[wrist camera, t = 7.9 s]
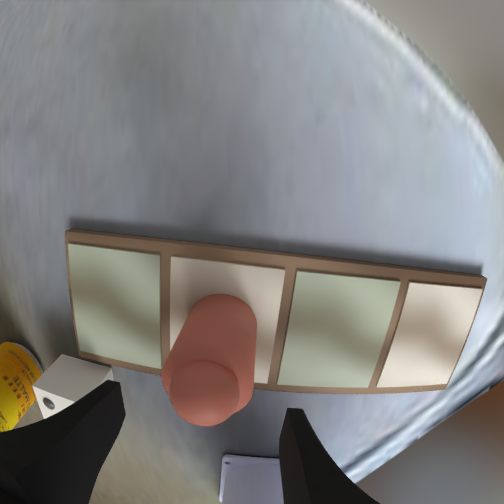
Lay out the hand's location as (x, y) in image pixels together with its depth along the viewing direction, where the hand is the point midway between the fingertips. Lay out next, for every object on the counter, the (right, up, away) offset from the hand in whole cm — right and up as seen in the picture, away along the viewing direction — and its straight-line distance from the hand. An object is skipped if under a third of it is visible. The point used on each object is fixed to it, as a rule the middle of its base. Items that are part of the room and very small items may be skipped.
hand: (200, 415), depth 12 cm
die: (-12, -5, +11) cm, 17 cm away
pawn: (0, +2, +8) cm, 8 cm away
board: (+4, +2, +9) cm, 10 cm away
